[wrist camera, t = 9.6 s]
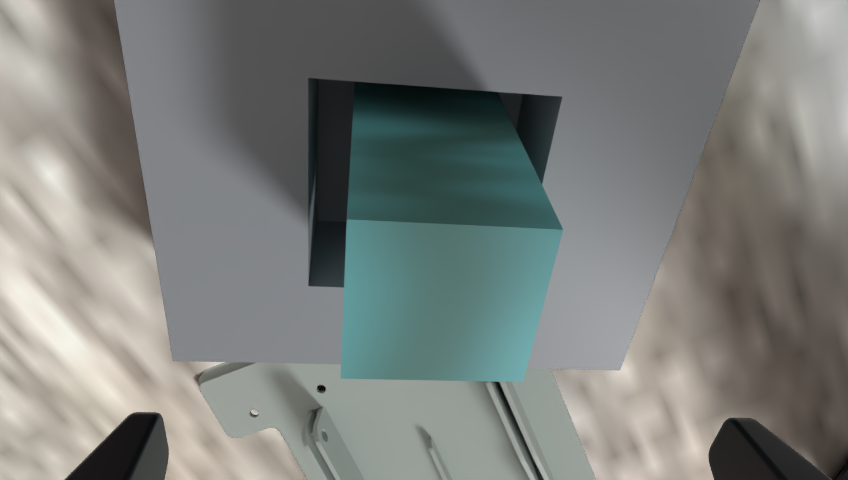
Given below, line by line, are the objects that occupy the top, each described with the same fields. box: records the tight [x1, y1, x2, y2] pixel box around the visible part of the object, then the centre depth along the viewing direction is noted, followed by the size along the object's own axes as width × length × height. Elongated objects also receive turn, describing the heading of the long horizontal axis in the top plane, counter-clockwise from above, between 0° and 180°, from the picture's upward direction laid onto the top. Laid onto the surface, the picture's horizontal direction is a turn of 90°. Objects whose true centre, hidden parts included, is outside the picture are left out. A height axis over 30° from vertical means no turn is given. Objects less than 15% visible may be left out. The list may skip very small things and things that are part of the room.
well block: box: [114, 0, 760, 370], centre depth 18 cm, size 14×12×4 cm
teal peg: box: [340, 82, 563, 382], centre depth 16 cm, size 4×4×8 cm
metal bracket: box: [199, 362, 596, 480], centre depth 26 cm, size 14×6×15 cm
